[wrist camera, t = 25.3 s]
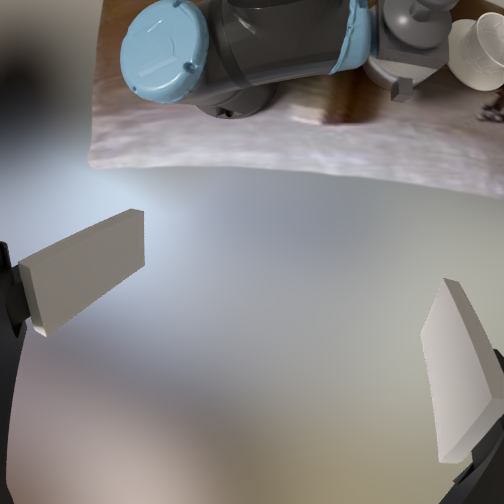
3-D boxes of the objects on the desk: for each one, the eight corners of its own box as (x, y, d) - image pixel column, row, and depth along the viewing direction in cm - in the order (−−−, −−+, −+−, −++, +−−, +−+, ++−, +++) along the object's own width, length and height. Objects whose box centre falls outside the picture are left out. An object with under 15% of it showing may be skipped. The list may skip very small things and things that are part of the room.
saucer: (442, 81, 37) (444, 80, 36) (439, 13, 32) (441, 11, 31) (507, 99, 34) (510, 99, 33) (503, 33, 29) (506, 31, 28)
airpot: (423, 110, 40) (463, 99, 23) (359, 100, 42) (363, 81, 26) (423, 30, 35) (455, -18, 18) (360, 20, 37) (360, -35, 20)
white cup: (446, 48, 34) (465, 30, 25) (472, 22, 30) (494, 2, 21) (481, 87, 34) (508, 79, 25) (506, 60, 30) (535, 49, 22)
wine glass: (436, 65, 26) (490, 24, 12) (379, 55, 27) (396, 1, 13) (433, 15, 23) (476, -49, 9) (378, 5, 25) (387, -71, 11)
